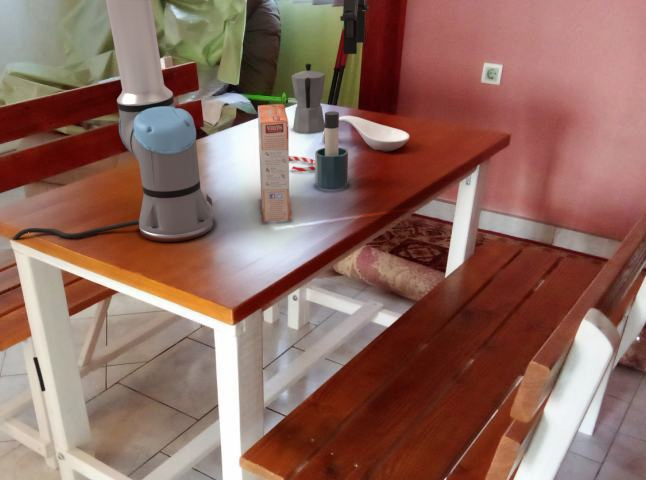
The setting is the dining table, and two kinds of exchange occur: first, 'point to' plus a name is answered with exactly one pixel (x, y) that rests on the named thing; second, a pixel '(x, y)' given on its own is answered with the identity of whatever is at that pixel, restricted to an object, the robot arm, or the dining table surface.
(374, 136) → the spoon rest
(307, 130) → the coffeepot
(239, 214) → the dining table surface
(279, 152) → the cracker box
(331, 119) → the marker
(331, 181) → the pen holder
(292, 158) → the candy cane
